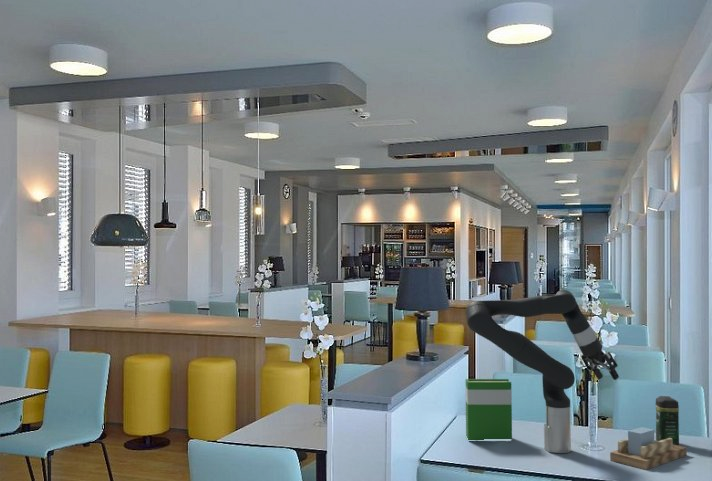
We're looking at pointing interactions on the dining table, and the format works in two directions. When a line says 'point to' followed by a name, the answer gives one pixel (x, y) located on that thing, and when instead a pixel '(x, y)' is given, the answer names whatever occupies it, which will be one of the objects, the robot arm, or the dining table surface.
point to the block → (639, 439)
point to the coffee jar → (667, 419)
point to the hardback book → (488, 409)
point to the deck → (648, 454)
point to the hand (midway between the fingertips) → (608, 378)
